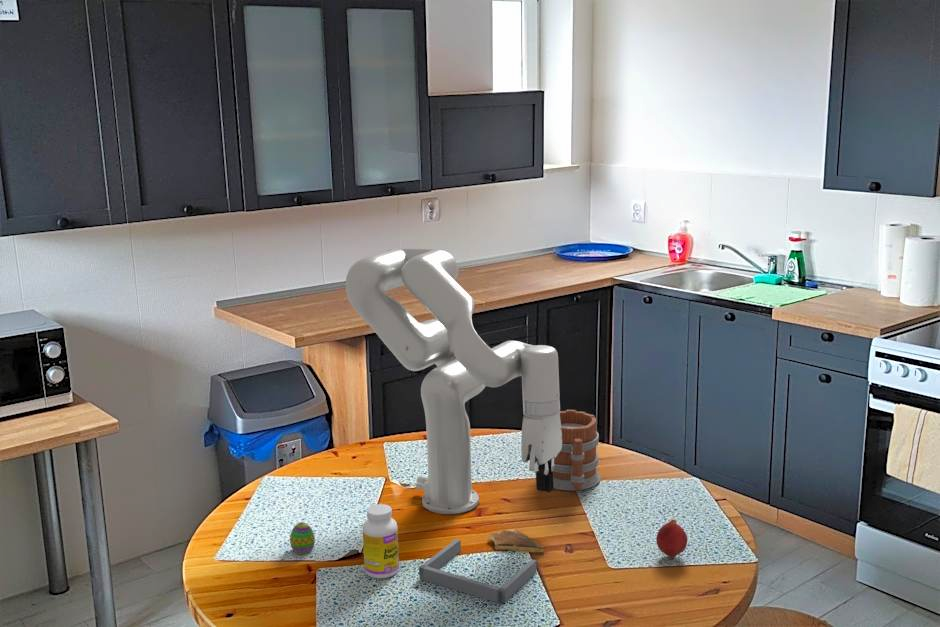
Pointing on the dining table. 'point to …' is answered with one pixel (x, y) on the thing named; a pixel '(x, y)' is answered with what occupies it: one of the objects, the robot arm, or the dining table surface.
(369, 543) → the supplement bottle
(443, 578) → the slate bay
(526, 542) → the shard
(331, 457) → the dining table surface
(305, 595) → the dining table surface
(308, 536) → the egg
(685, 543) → the onion
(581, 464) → the mug
